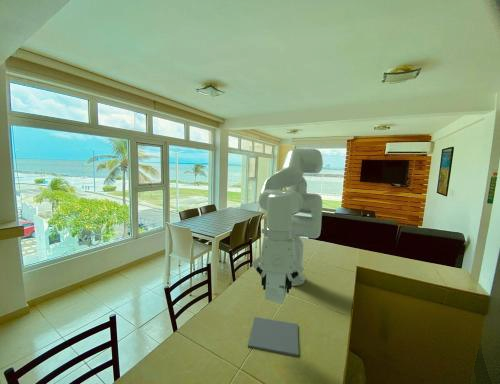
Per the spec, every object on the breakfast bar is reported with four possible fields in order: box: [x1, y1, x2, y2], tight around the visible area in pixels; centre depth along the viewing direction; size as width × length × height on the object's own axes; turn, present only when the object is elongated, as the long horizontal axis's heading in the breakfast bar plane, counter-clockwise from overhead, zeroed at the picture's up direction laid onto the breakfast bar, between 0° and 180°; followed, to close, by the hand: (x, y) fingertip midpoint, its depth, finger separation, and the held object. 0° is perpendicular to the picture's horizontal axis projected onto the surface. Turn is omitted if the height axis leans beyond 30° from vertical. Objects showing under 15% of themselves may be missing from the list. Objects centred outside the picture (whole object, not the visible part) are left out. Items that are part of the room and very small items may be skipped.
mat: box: [247, 316, 300, 357], centre depth 68 cm, size 12×15×1 cm
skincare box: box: [264, 272, 287, 305], centre depth 65 cm, size 6×4×12 cm
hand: (276, 288), depth 66 cm, fingers closed on skincare box, 6 cm apart
